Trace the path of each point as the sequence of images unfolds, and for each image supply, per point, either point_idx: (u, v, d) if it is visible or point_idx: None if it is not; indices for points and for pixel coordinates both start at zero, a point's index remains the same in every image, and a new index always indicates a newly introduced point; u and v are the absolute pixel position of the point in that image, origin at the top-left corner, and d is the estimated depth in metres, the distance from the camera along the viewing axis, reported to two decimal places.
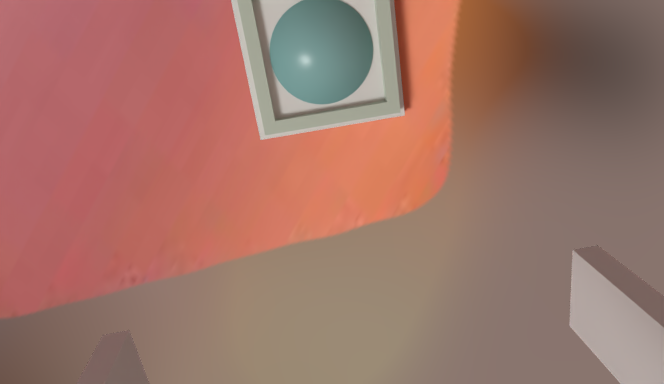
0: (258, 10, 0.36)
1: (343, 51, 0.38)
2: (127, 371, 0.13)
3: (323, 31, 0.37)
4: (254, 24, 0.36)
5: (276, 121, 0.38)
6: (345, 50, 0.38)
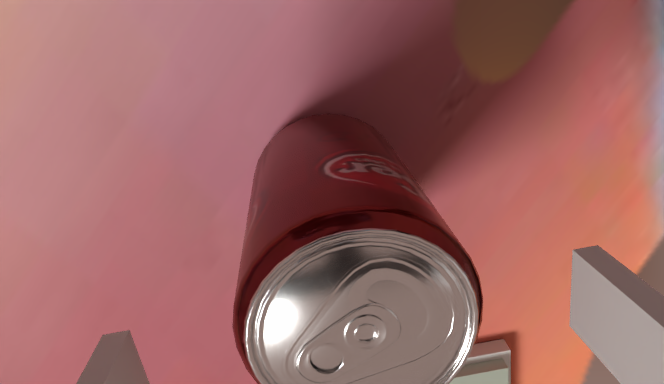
0: None
1: None
2: (127, 371, 0.13)
3: None
4: None
5: None
6: None
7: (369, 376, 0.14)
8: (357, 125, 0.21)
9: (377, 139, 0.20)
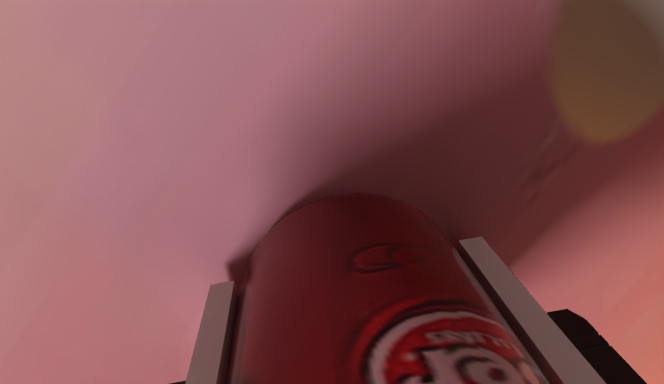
0: None
1: None
2: None
3: None
4: None
5: None
6: None
7: None
8: (404, 219, 0.13)
9: (441, 248, 0.12)
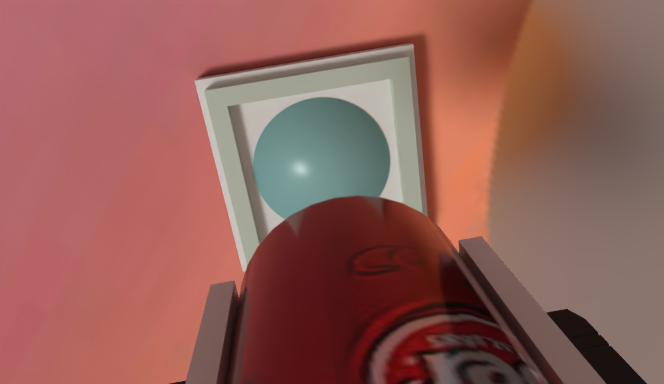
0: (237, 115, 0.27)
1: (350, 164, 0.29)
2: (236, 315, 0.15)
3: (325, 140, 0.28)
4: (231, 136, 0.27)
5: None
6: (353, 163, 0.29)
7: None
8: (405, 221, 0.13)
9: (441, 250, 0.12)
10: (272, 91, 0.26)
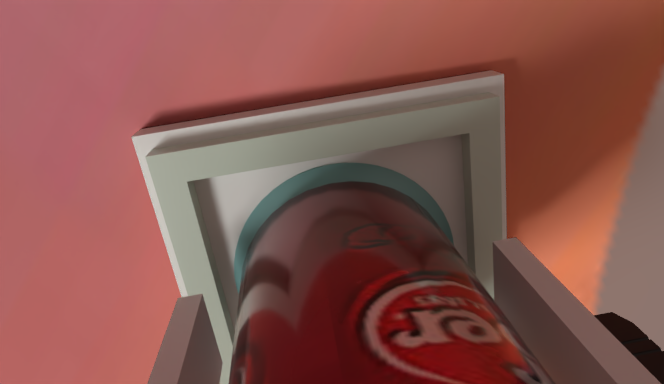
0: (207, 192, 0.16)
1: None
2: (203, 329, 0.14)
3: None
4: (196, 230, 0.16)
5: None
6: None
7: None
8: (395, 203, 0.14)
9: (428, 229, 0.13)
10: (264, 156, 0.15)
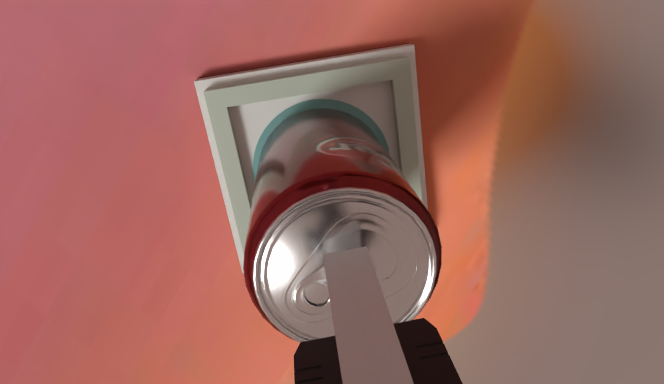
0: (237, 116, 0.27)
1: None
2: None
3: None
4: (231, 138, 0.26)
5: None
6: None
7: None
8: (346, 117, 0.25)
9: (363, 128, 0.24)
10: (272, 92, 0.26)
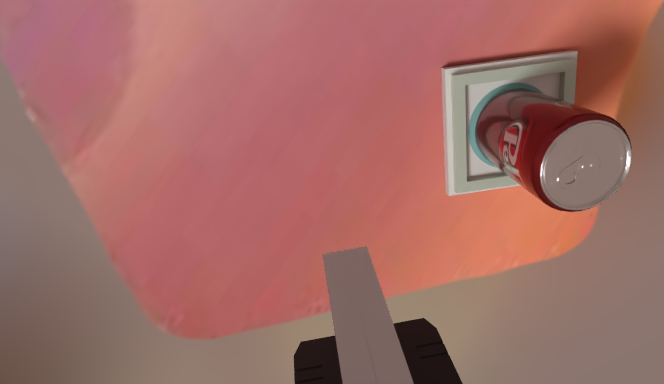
0: (466, 92, 0.43)
1: None
2: None
3: None
4: (464, 104, 0.43)
5: (467, 182, 0.46)
6: None
7: (584, 187, 0.34)
8: None
9: None
10: (493, 77, 0.42)
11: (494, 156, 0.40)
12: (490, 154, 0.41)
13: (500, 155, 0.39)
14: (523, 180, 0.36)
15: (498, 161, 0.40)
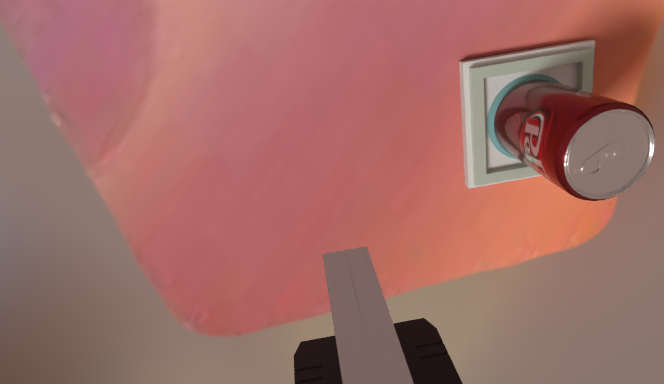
0: (484, 84, 0.43)
1: None
2: None
3: None
4: (482, 97, 0.43)
5: (487, 174, 0.46)
6: None
7: (607, 176, 0.34)
8: None
9: None
10: (511, 69, 0.42)
11: (515, 148, 0.41)
12: (510, 146, 0.42)
13: (521, 146, 0.39)
14: (546, 171, 0.36)
15: (519, 152, 0.40)
